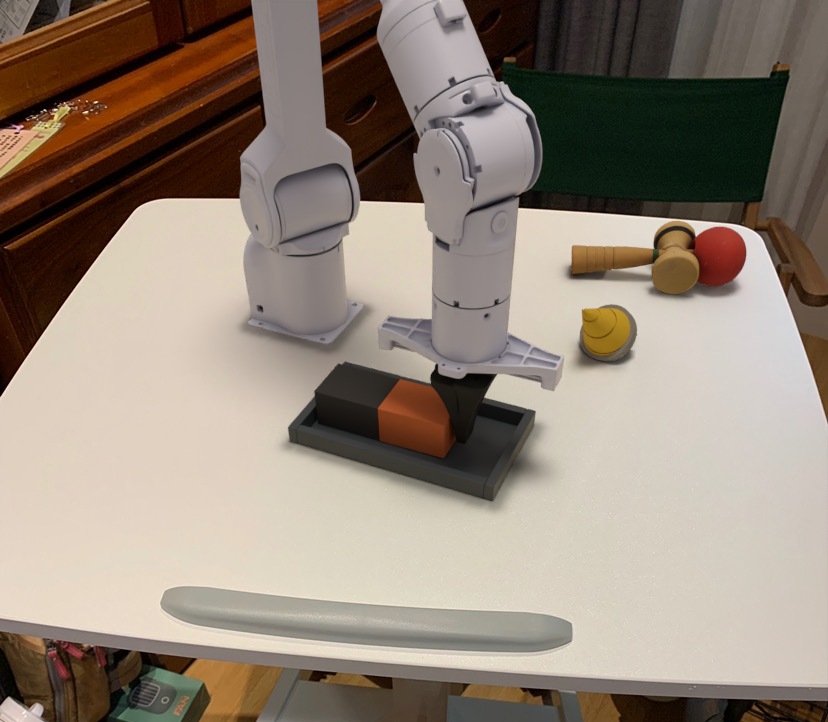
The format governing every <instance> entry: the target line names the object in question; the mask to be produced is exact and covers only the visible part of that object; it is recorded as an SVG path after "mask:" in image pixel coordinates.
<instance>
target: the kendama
mask: <svg viewBox="0 0 828 722" xmlns="http://www.w3.org/2000/svg"><path fill="white" fill-rule="evenodd" d="M652 243H653V248H649V247H637V246H611V245H610V246H609V245H606V246H604V245H577V244H573V245H572V246H571V261H570V262H571V266H570V267H571V270H570V271H571V272H570V273H571V274H572V275H578V274H585V273H595V272H603V271H612V270H615V271H616V270H624V269H633V268H639V267H644V266H649V265H652V267H651V270H650V271H651V281H652V284H653V286H654V288H655V289H656V290H658V291H659V292H662V293H664V294H666V295H679V294H682V293H685V292H688V291H689V290H690V289H691V288H693V287H694V286H695V285H696V284H697V283H699V284H700V285H702V286H706V287H721V286H724V285H727V284H729V283H731V282H733V281H734V280H735V279H736V278H737V277H738V276H739V275H740V273H741V272H742V270H743V269H744V266H745V263H746V260H747V245H746V242H745V240H744V238H743V236H741V234H740V233H739V232H737V231H736V230H735V229H732V228H730V227H727V226H712V227H710V228H706V229H704V230H703V231H701V232H700V233H699V234H697V235H696V231H695V229H694V227H693V226H692V225H691V224H689V223H688V222H686V221H683V220H672V221H669V222H668V221H667V222H666V223H664V224H663V225H661V226H660V227H659V228H658V229H657V230H656V232H655V234H654V237H653V242H652Z"/></svg>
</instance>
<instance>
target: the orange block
mask: <svg viewBox="0 0 828 722" xmlns="http://www.w3.org/2000/svg"><path fill="white" fill-rule="evenodd" d="M378 421H379V437H380V441H382V442H385V443H389V444H393V445H396V446H400V447H404V448H407V449H411V450H415V451H418V452H422V453H425V454H429V455H433V456H436V457H440V458H444V457H445V456H446V454H447V453H448V451H449V450H450V448H451V446H452V445H453V443H454V442H455V440H456V437H455V433H454V429H453V425H452V422H451V419H450V416H449V414H448V411H447V409H446V407H445V405H444V403H443V401H442V400H441V398H440V396H439V395H438V393H437V392H436V391H435V390H434V388H433V387H430V386H426V385H422V384H418V383H413V382H409V381H405V380H401V379H400V380H399V381H398V383H397V384H396V385H395V387H394V388H393V389H392V390H391V392H390V393H389V394H388V396H387V397H386V398H385V400H384V401H383V402H382V404H381V405H380V406H379V407H378Z"/></svg>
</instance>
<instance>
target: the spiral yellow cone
mask: <svg viewBox="0 0 828 722" xmlns="http://www.w3.org/2000/svg"><path fill="white" fill-rule="evenodd" d="M581 321H582V322H581V323H582V325H581V327H580V331H579V343H580V346H581V349H582V350H583V352H584V353H585V354H586V355H587V356H589V357H590V358H592V359H593V360H596V361H601V362H608V363H609V362H610V363H611V362H615V361H618V360H620V359H622V358H623V357H624V356H626V355H627V354H628V353H629V352H630V351H631V349H632V348H633V347H634V344H635V343H636V339H637V336H638V326H637V325H638V324H637V322H636V319H635V318H634V316H633V315H632V313H630V311H629V310H628V309H626V307H624V306H621V305H619V304H614V303H613V304H612V303H611V304H604V305H601V306H599V307H596V308H581Z"/></svg>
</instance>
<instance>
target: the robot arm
mask: <svg viewBox="0 0 828 722" xmlns="http://www.w3.org/2000/svg"><path fill="white" fill-rule="evenodd" d="M250 2H251V9H252V18H253V26H254V35H255V43H256V52H257V59H258V60H257V61H258V67H259V76H260V83H261V91H262V99H263V108H264V116H265V126H264V128H263V129H262V131H260V133H259V134H258V135H257V137H255V139H254V140H253V141H252V142H251V143H250V144H249V146H247V148H246V149H245V150H244V151H243V152H242V154H241V155H240V157H239V160H240V179H241V180H240V188H239V204H240V208H241V212H242V216H243V219H244V221H245V224H246V227H247V229H248V231H249V232H250V235H249V236H248V237H247V239H246V242H245V246H244V250H243V260H242V262H243V263H242V265H243V273H244V278H245V279H244V280H245V284H246V290H247V291H246V292H247V298H248V303H249V307H250V313H251V314H250V315H251V318H250V319H249V320H248V321H247V324H248V325H249V326H251V327H255V328H258V329H263V330H267V331H271V332H275V333H279V334H282V335H286V336H289V337H294V338H299V339H302V340H305V341H310V342H314V343H316V344H317V343H318V344H322V345H331V344H332V343H333V342H334V341H335V340H336V339H337V338H338V337H339V336H340V335H341V333H342V332H343V331H344V330H346V328H347V327H348V326H349V325H350V323H351V322H353V320H354V319H355V318H356V317H357V316H358V315H359V313H360V312H361V311H362V310H363V309H364V304H363V303H359V302H355V301H351V300H348V294H347V281H346V266H345V265H346V264H345V251H344V239H343V238H344V237H347V236H349V235H350V226H349V224H351V223H353V222H355V220H356V219H357V217H358V215H359V211H360V207H361V191H360V186H359V182H358V179H357V176H356V173H355V168H354V162H353V155H352V149H351V148H350V146H349V145H348V143H347V142H346V141H345V139H343V138H342V137H341V136H340V135H338V134H337V133H336V132H334V131H332V130H331V129H329V128H327V123H326V107H325V95H324V93H325V92H324V80H323V66H322V50H321V36H320V24H319V9H318V8H319V7H318V0H250ZM379 2H380V4H381V6H382V8H381V9H382V10H381V14H380V18H379V22H378V25H377V28H376V40H377V42H378V44H379V47H380V50H381V52H382V53H383V56H384V59H385V61H386V63H387V65H388V68H389V70H390V73H391V75H392V77H393V79H394V82H395V85H396V87H397V89H398V92H399V94H400V96H401V98H402V101H403V103H404V106H405V107H406V110H407V113H408V115H409V117H410V119H411V122H412V125H413V126H414V128H415V131H416V134H417V136H418V138H419V142H418V146H417V151H416V152H414V153H413V166H414V171H415V173H414V174H415V178H416V181H417V184H418V187H419V190H420V192H421V194H422V198H423V203H424V204H423V205H424V221H425V222H426V227H427V230H428V231H429V233H431V234H432V247H431V248H432V253H431V254H432V257H431V258H432V259H431V261H432V263H431V267H432V268H431V273H432V274H431V318H409V317H399V316H394V315H387V316H386V317H385V319H383V321H382V322H381V324H380V325H379V326H378V327H377V341H378V349H380V350H384V351H388V352H389V351H392V350H393V349H394V348H395V349H399V350H400V349H401V350H403V351H404V350H405V351H408V352H413V353H416V354H418V355H420V356H421V357H423V358H425V359H427V360H429V361H431V362H433V363H435V365H434V368H433V370H432V371H431V373H430V376H429V379H430V384H431V386H432V387H433V388H434V390H435V391H436V392H437V393H438V395H439V396H440V398H441V400H442V401H443V403H444V405H445V407H446V409H447V411H448V414H449V416H450V419H451V422H452V425H453V429H454V433H455V437H456V441H457V442H458V443H462V444H465V443H466V442H467V440H468V438H469V437H470V435H471V434H472V432H473V429H474V424H475V420H476V417H477V414H478V411H479V408H480V406H481V403H482V401H483V399H484V398H486V394H487V393H488V391H489V389H490V387H491V385H492V384H493V382H494V381H495V379H496V378H497V376H498V375H506V376H510V377H515V378H518V379H523V380H527V381H531V382H535V383H539V384H540V388H541V389H543V390H546V391H551V392H555V390H556V388H557V387H558V385H559V384H560V381H561V380H562V376H563V369H564V364H565V356H564V355H562V354H561V355H560V354H557V353H553V352H550V351H548V350H546V349H544V348H541V347H539V346H537V345H535V344H532V343H531V342H529V341H527V340H525V339H523V338H520V337H519V336H517V335H514V334H512V333H510V332H509V331H508V330H509V318H510V308H511V298H512V297H511V296H512V287H513V285H512V284H513V275H514V273H513V272H514V264H515V263H514V262H515V250H516V242H517V241H516V239H517V226H518V218H519V217H518V216H519V205H520V197H519V195H521V194H522V193H525V192H527V191H529V190H530V189H532V188H533V186H534V185H535V184H536V183H537V180H538V178H539V177H540V174H541V170H542V164H543V143H542V137H541V134H540V130H539V127H538V124H537V120H536V116H535V113H534V112H533V111H532V109H531V108H530V107H529V105H528V104H527V103H526V102H524V101H523V100H522V99H521V98H519V97H517V96H515V95H514V94H513V92H511V90H510V87H509V86H508V85H509V84H505V81H497V80H496V78H495V75H494V72H493V70H492V68H491V66H490V63H489V61H488V58H487V55H486V53H485V51H484V48H483V46H482V43H481V41H480V39H479V35H478V34H477V31H476V29H475V26H474V24H473V22H472V19H471V17H470V14H469V12H468V10H467V7H466V5H465V2H464V0H379ZM517 196H518V197H517Z"/></svg>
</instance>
